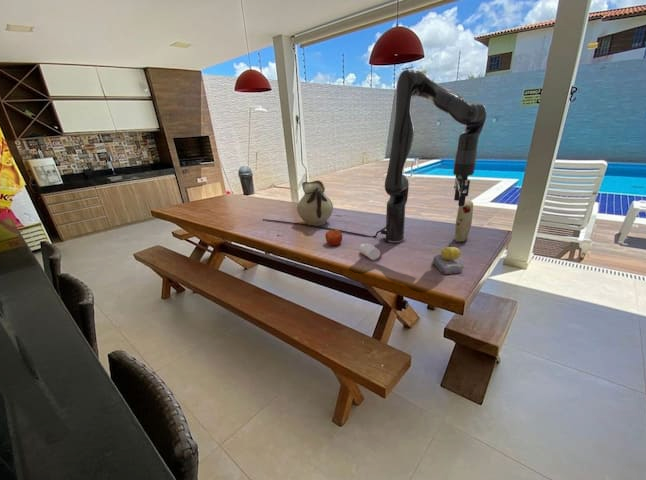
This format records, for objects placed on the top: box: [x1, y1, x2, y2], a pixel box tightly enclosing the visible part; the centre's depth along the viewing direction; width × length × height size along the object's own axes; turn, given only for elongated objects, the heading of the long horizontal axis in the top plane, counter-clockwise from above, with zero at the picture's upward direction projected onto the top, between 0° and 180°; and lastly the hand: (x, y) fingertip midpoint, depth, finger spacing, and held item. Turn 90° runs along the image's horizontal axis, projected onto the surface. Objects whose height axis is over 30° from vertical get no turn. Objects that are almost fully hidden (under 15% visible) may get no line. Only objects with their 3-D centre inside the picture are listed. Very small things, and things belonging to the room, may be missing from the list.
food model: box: [454, 200, 474, 243], centre depth 151 cm, size 10×7×20 cm
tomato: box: [324, 228, 343, 246], centre depth 159 cm, size 9×9×8 cm
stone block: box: [432, 254, 464, 275], centre depth 128 cm, size 12×5×10 cm
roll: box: [359, 243, 381, 261], centre depth 144 cm, size 6×12×6 cm, turn 22°
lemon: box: [440, 246, 462, 260], centre depth 126 cm, size 8×5×5 cm
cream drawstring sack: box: [296, 180, 334, 227], centre depth 188 cm, size 22×24×25 cm
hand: (458, 203), depth 126 cm, fingers open, 8 cm apart
